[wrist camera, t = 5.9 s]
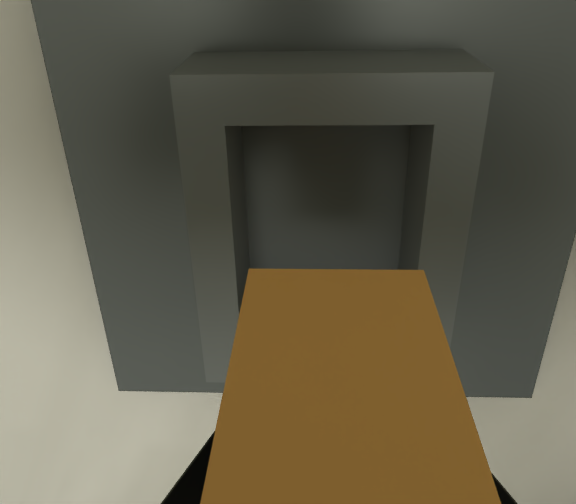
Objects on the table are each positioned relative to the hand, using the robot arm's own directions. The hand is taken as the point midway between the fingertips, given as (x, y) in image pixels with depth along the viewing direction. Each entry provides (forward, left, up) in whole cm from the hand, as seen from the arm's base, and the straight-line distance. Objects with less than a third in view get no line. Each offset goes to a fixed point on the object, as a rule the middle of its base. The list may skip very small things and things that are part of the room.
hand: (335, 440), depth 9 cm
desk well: (0, 0, -10) cm, 10 cm away
